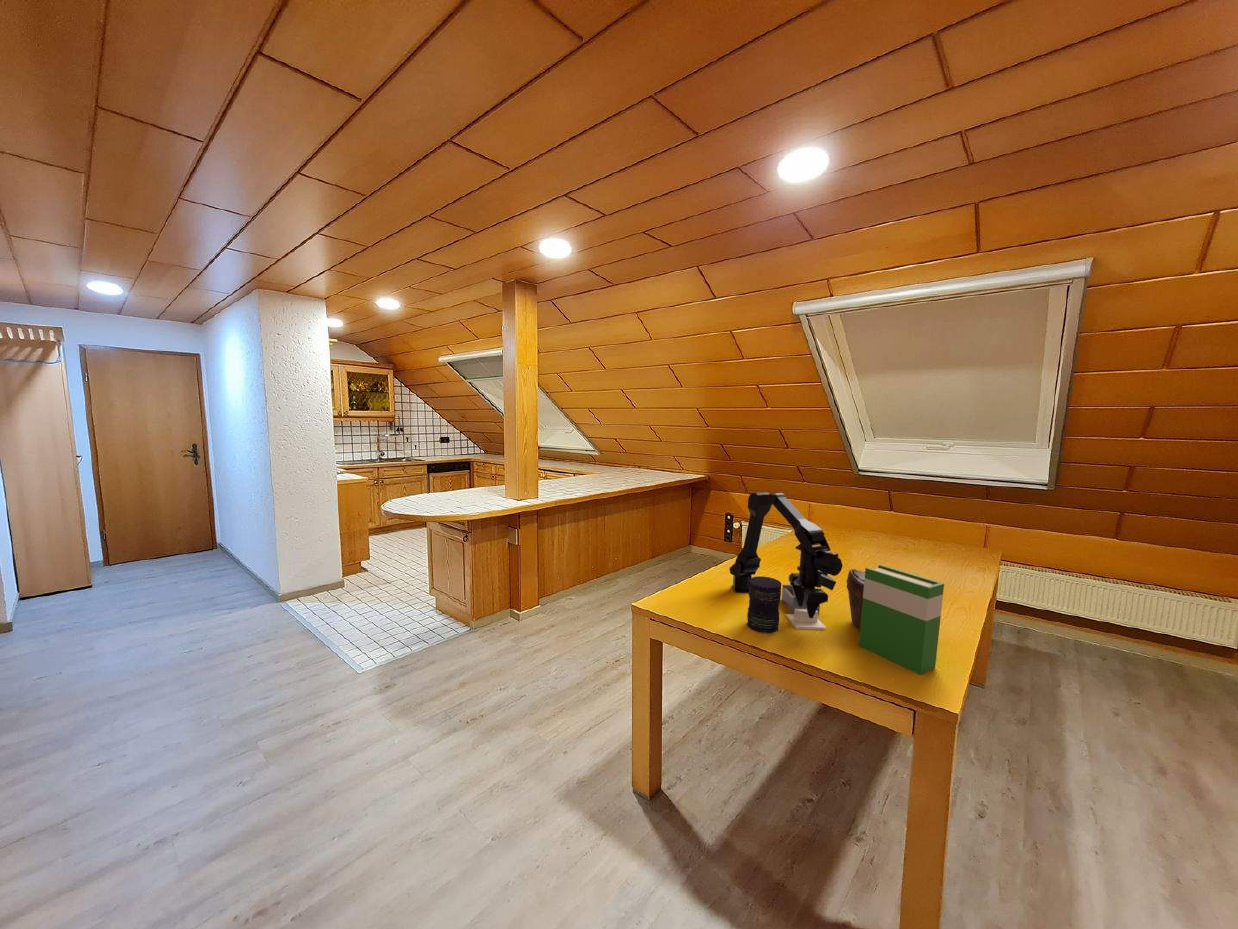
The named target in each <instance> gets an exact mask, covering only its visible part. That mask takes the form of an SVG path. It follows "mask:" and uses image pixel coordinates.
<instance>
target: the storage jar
mask: <svg viewBox="0 0 1238 929" xmlns="http://www.w3.org/2000/svg"><path fill="white" fill-rule="evenodd" d="M748 598H749V600H748V608H747V612H746V614H747V618H746V619H747V623H746V626H747V628H749V630H751V631H754V632H755V633H761V634H774V633H777V632H778V631H779V624H780V602H781V600H782V582H781V581H780V580H779V579H776V578H773V577H769V576H761V575H760V576H759V575H758V576H753V577H752V578H750V585H749V593H748Z"/></svg>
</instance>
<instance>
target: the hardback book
mask: <svg viewBox="0 0 1238 929" xmlns="http://www.w3.org/2000/svg"><path fill="white" fill-rule="evenodd" d="M864 570H865V571H864V572H865V580H864V591H863V603H862V614H861V625H860V629H859V637H858V638H859V639H858V647H859V648H861V649H863V650H865V651H867V652H870V653H872V654H874V655H877V656H878V657H879V658H880V657H881V658H883V659H885V660H887V661H889V662H891V663H893V664H896V665H898V666H899V667H902V668H905V669H906V670H909V671H910V672H913V673H916V675H919V676H922V675H924V674H926V673H928V672H931V671H932V670H935V669H936V663H937V653H938V646H939V645H938V644H939V636H940V626H941V618H942V617H941V616H942V609H943V608H942V607H943V601H944V600H943V599H944V588H945V583H943V582H940V581H937V580H934V579H932V578H931V579H930V578H926V577H924V576H920V575H917V574H914V573H910V572H907V571H906V572H905V571H903V570H900V569H896V568H893V567H889V566H886V565H883V564H879V565H878V567H877V568H874V569H872V568H870V567H865V569H864Z"/></svg>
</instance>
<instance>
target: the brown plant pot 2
mask: <svg viewBox="0 0 1238 929" xmlns="http://www.w3.org/2000/svg"><path fill="white" fill-rule="evenodd" d="M864 580H865V571H862V570H858V569H855V568H851V569H849V571H848V573H847V578H846V589H847V592H848V600H849V601H848V602H849V610H850V616H851V617H850V618H851V623H852V625H853V626H854V627H855V628H857V629H858V630H860V625H861V614H862V603H863V591H864Z"/></svg>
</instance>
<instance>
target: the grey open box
mask: <svg viewBox="0 0 1238 929" xmlns="http://www.w3.org/2000/svg"><path fill="white" fill-rule="evenodd" d="M781 601H782V602H783V604H784V605H786V607H787V608H788V609H789V611H790V612H791V614H794V609H806V605H805V601H803V605H802V607H801V606H799V605H798V603H797V600H796V597H795V594H794V592H793V589H792V587H791V585H790V584H782V585H781ZM820 610H821V604H820V605H819V606H818V608H817V611H818V615H820Z"/></svg>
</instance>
